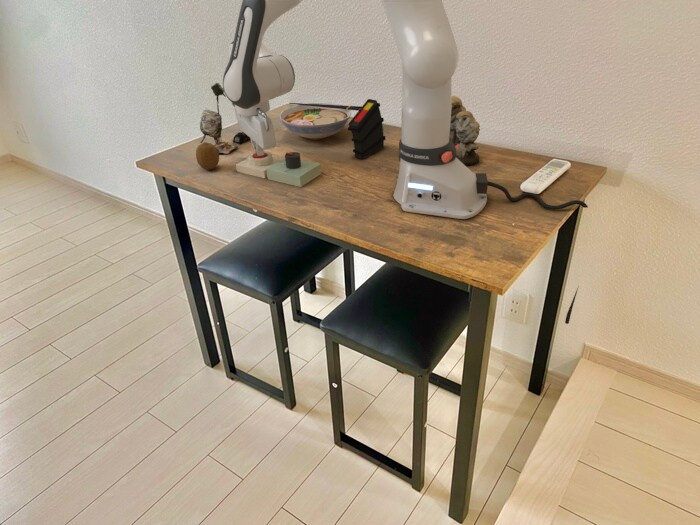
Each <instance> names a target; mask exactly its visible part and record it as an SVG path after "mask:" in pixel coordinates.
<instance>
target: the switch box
mask: <svg viewBox="0 0 700 525" xmlns="http://www.w3.org/2000/svg"><path fill="white" fill-rule="evenodd" d="M263 151H264V152H265V153H266V157H264V158H254V157H253V154H254V153H255V152H254V151H253V152H251V153H249V154H248V156H247V158H246V159H243V160H242V161H240V162H238V163H236V164H235V168H236V172H237V173H240V174H245V175H249V176H253V177H258V178H261V179H266V178H268V177H267V168H269V167H271V166H273V165H274V164H276V163H278V162H280V161H281V160H283V159H284V158H283V157H278V156H275V155H273V153H272V152H270V151H266V150H263Z"/></svg>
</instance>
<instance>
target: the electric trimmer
mask: <svg viewBox="0 0 700 525" xmlns="http://www.w3.org/2000/svg"><path fill="white" fill-rule="evenodd" d="M248 140H251V138H250V137H249V136H247V135H246V134H245V133H244V132H243V131H241V132H239V131H238V132H237V133H236V134H235V135H234V136H233V138H232V142H233V144H234V145H243V143H244V142H246V141H248Z"/></svg>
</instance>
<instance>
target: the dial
mask: <svg viewBox="0 0 700 525" xmlns="http://www.w3.org/2000/svg"><path fill="white" fill-rule="evenodd" d="M284 159H285V161H286V167H287V168H289V169H296V168H299V167H301V160H302V158H301V153H300V152H297V151H296V152H295V151H289V152H285V155H284Z"/></svg>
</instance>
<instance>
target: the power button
mask: <svg viewBox="0 0 700 525" xmlns="http://www.w3.org/2000/svg"><path fill="white" fill-rule="evenodd" d="M253 157H254V158H264V157H266V153H265V152H264V155H263V156H258V155H257V154H256V153H254V154H253Z"/></svg>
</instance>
